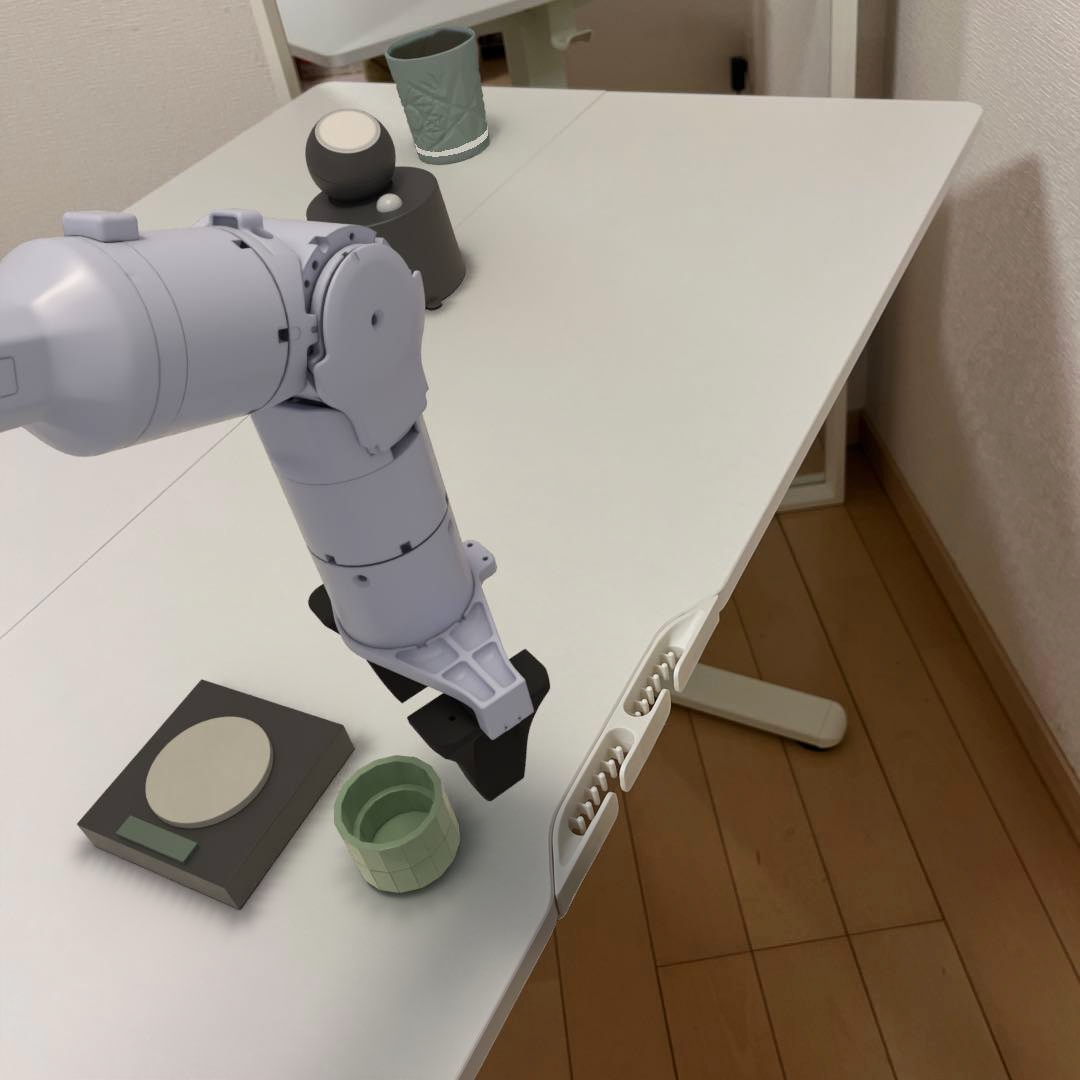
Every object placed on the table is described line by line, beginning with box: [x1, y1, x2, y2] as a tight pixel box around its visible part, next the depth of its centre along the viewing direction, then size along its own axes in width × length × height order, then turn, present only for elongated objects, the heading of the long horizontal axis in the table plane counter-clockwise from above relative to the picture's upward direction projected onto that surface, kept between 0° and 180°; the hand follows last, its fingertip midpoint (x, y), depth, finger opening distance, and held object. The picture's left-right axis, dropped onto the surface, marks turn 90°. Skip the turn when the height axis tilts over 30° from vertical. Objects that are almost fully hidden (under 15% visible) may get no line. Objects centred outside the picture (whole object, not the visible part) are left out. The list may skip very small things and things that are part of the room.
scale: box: [76, 678, 355, 910], centre depth 63 cm, size 11×11×3 cm
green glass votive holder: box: [333, 754, 461, 894], centre depth 57 cm, size 6×6×4 cm
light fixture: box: [304, 108, 466, 309], centre depth 101 cm, size 13×16×14 cm
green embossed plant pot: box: [384, 25, 490, 165], centre depth 125 cm, size 10×10×12 cm
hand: (457, 734), depth 51 cm, fingers open, 7 cm apart
